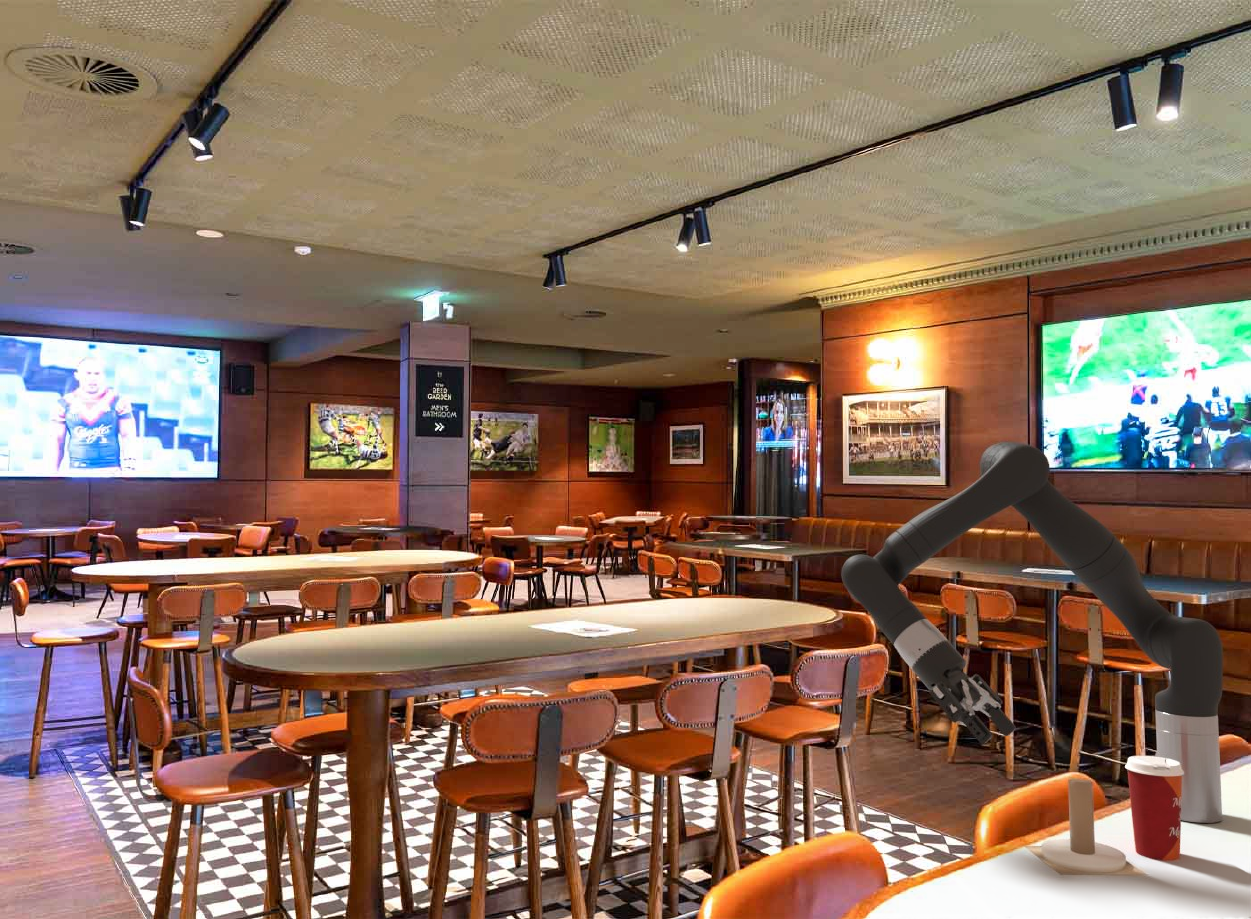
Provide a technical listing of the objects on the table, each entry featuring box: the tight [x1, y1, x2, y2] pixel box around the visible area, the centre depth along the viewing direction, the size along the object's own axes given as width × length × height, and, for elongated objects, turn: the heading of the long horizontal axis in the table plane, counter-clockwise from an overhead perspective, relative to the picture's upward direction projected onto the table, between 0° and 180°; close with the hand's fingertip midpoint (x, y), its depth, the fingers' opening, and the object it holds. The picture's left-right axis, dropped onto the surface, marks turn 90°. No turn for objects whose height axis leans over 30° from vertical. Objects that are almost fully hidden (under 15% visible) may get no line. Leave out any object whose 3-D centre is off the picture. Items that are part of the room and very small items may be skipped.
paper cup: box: [1124, 755, 1184, 862], centre depth 140 cm, size 8×8×14 cm
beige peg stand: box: [1040, 778, 1127, 873], centre depth 137 cm, size 11×11×11 cm
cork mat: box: [1023, 845, 1149, 876], centre depth 137 cm, size 12×12×1 cm
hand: (1000, 736), depth 146 cm, fingers open, 8 cm apart
